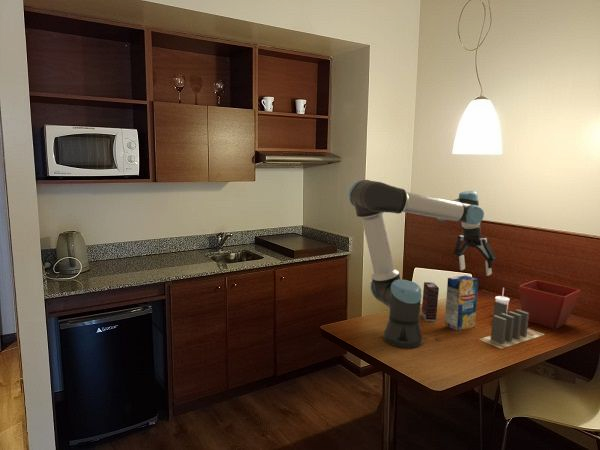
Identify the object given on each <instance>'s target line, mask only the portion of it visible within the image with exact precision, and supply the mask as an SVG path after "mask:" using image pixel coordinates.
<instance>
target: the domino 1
mask: <svg viewBox="0 0 600 450" xmlns="http://www.w3.org/2000/svg"><path fill="white" fill-rule="evenodd" d="M493 307H494V308H493V316H494V315H497V316H501V314H502V313H504V314H506V313H507V314H508V309H507V304H505V303H502V302H499V301H496V300H495V301H494V306H493Z"/></svg>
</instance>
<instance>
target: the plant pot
mask: <svg viewBox="0 0 600 450" xmlns="http://www.w3.org/2000/svg"><path fill="white" fill-rule="evenodd" d="M580 293H581V290H580V289H578V288H574V287H570V286H565V285H562V284H556V283H553V282H548V281H545V280H539V279H535V280H532V281H529V282H527V283H523V284H521V285H519V299H520V301H519V302H520V306H521V311H524V312H527V313H529V320H528V322H530V323H534V324H537V325H540V326H544V327H547V328H550V329H554V330H557V329H558V328H561V327H563V326H565V324H566V323H567V322H568V319H569V318H570V316H571V314H572V313H573V310H574V308H575V307H576V304H577V300H578V298H579V297H580V296H579V295H580Z"/></svg>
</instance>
